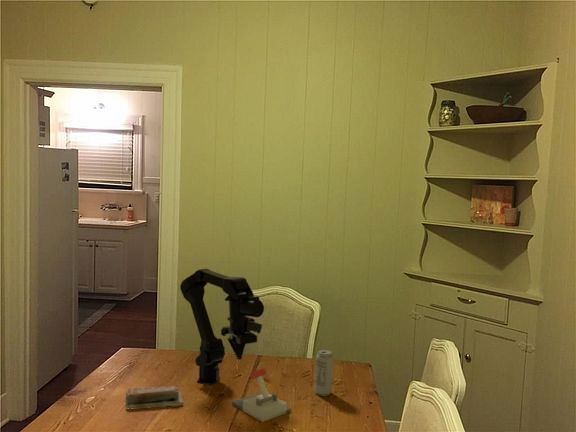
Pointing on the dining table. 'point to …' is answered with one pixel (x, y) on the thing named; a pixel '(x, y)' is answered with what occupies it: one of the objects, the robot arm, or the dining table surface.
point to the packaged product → (153, 397)
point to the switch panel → (262, 407)
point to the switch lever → (261, 384)
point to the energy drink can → (324, 373)
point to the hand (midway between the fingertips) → (239, 359)
